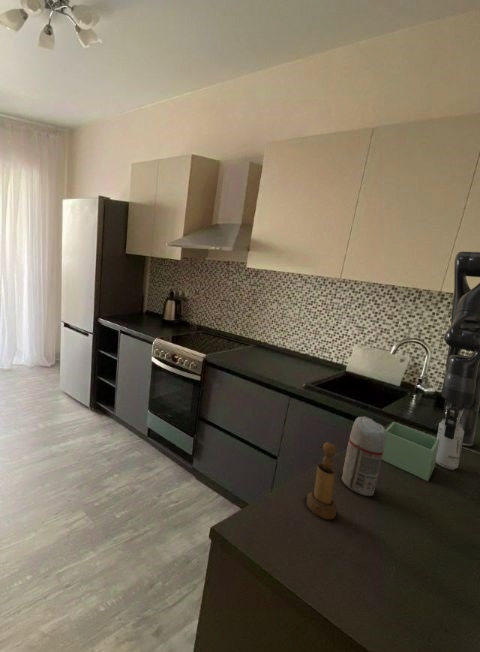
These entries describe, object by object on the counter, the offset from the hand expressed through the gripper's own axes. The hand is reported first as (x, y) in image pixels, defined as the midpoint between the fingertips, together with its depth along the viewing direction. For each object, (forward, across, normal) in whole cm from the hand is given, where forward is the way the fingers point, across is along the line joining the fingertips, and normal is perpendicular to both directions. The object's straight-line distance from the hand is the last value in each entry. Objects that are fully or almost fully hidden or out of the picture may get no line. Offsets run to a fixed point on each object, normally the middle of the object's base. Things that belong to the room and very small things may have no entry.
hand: (450, 434), depth 112 cm
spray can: (+11, -42, +14) cm, 46 cm away
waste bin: (+11, -12, +8) cm, 18 cm away
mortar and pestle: (+11, -62, +17) cm, 65 cm away
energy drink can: (+11, 0, 0) cm, 11 cm away
